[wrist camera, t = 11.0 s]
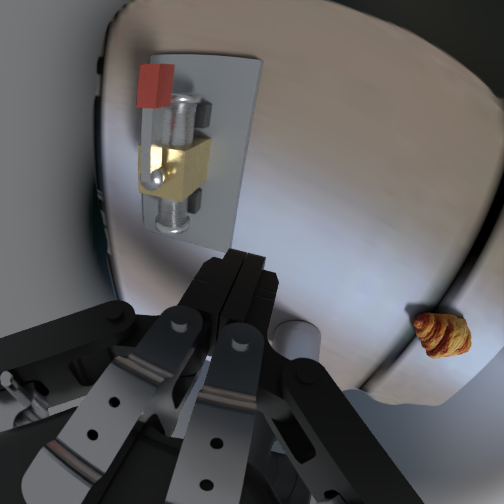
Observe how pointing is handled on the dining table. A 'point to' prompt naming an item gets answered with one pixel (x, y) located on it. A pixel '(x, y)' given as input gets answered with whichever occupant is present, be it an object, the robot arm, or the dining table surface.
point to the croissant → (442, 334)
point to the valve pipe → (181, 162)
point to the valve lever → (153, 120)
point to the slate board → (215, 140)
